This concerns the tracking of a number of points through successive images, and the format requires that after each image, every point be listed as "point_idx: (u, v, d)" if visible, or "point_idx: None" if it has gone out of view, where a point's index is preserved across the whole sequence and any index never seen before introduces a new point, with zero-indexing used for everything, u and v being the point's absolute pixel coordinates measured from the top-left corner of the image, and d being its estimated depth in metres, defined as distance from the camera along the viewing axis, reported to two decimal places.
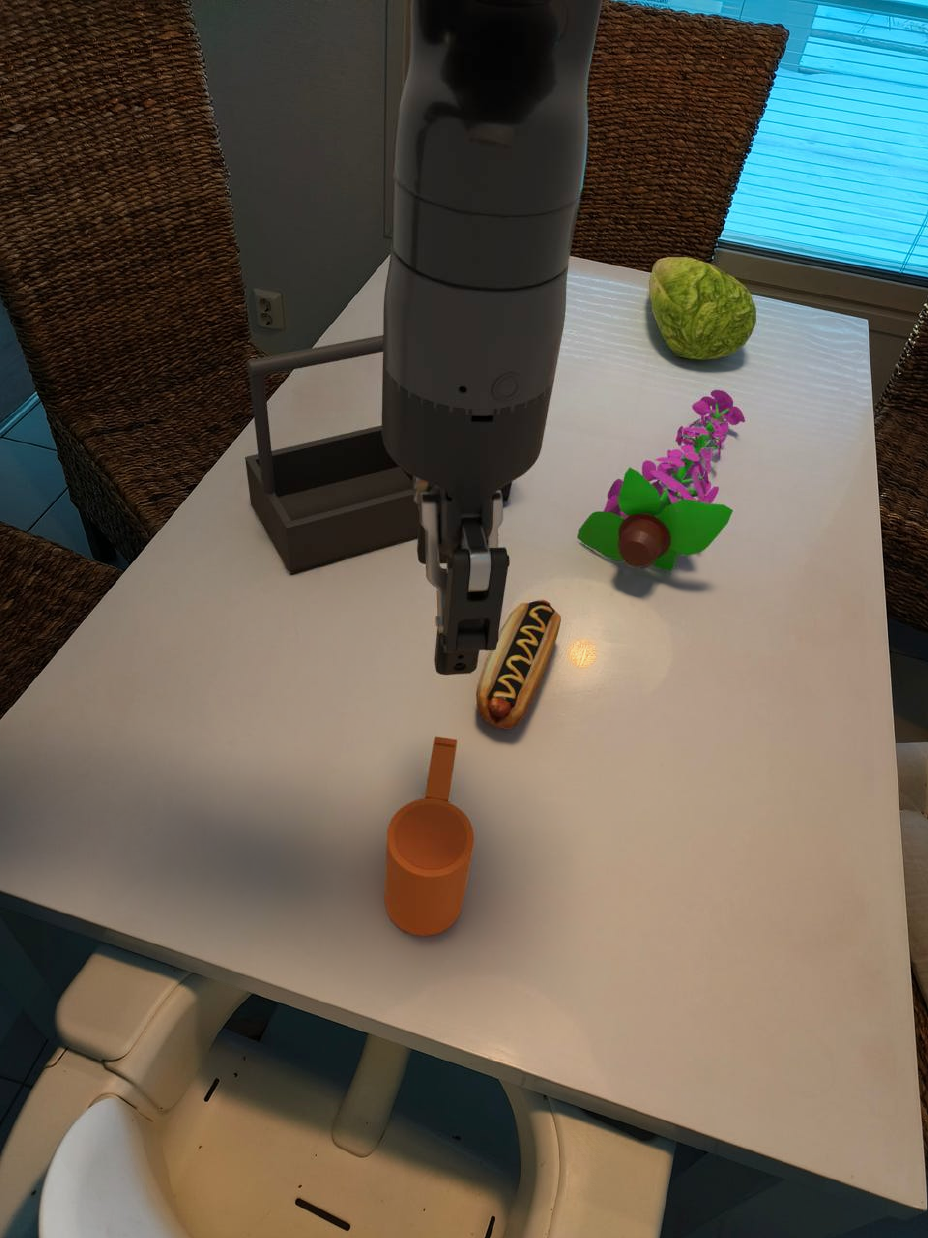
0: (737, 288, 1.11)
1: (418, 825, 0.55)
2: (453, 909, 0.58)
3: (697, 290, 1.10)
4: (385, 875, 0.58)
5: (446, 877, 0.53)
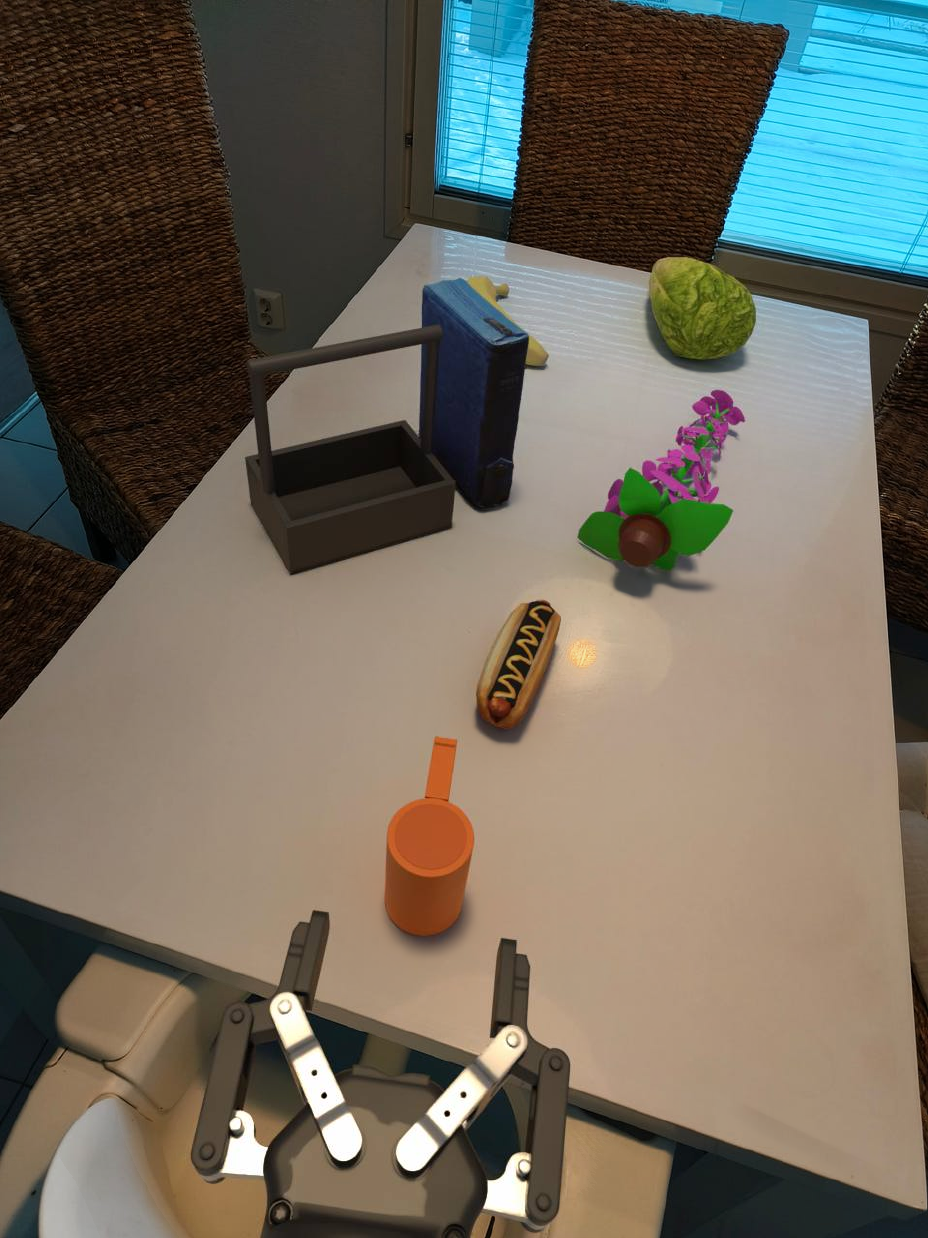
0: (737, 288, 1.11)
1: (418, 825, 0.55)
2: (453, 909, 0.58)
3: (697, 290, 1.10)
4: (385, 875, 0.58)
5: (446, 877, 0.53)
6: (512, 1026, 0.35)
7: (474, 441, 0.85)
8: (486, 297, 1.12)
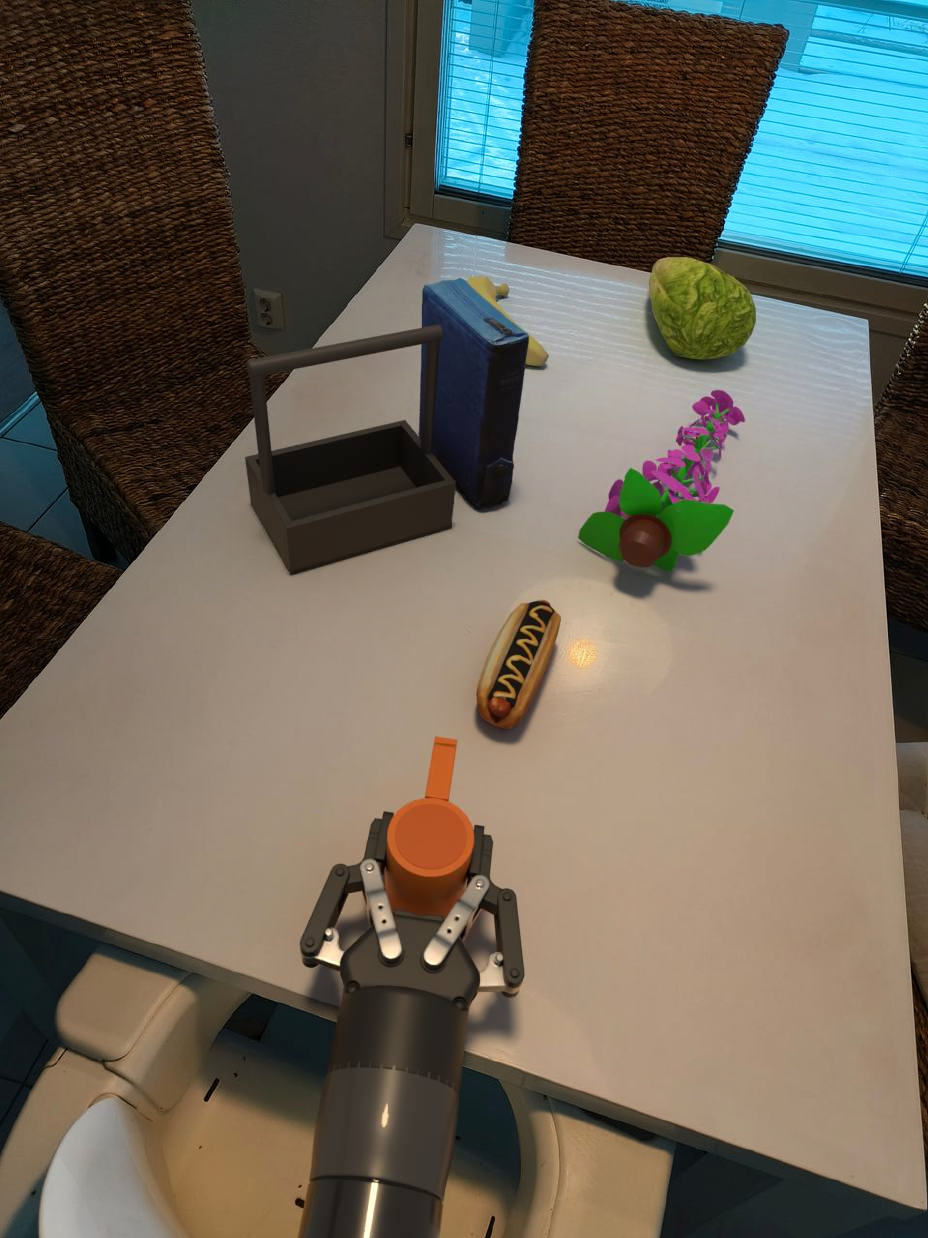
0: (737, 288, 1.11)
1: (418, 825, 0.55)
2: None
3: (697, 290, 1.10)
4: (385, 875, 0.58)
5: (446, 877, 0.53)
6: (480, 875, 0.55)
7: (474, 441, 0.85)
8: (486, 297, 1.12)
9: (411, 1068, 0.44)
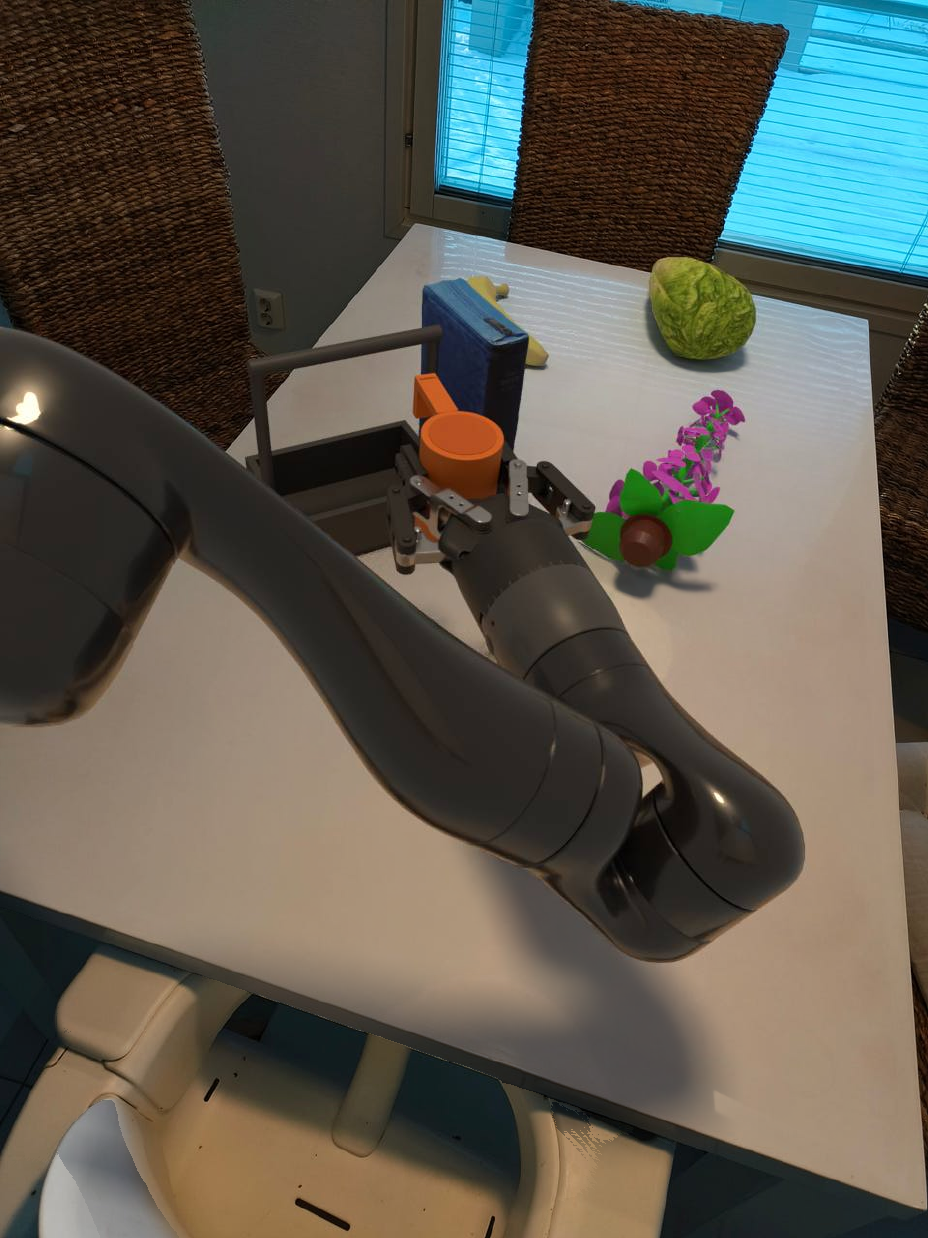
0: (737, 288, 1.11)
1: (446, 431, 0.57)
2: None
3: (697, 290, 1.10)
4: None
5: (494, 457, 0.56)
6: (514, 459, 0.58)
7: None
8: (486, 297, 1.12)
9: (564, 561, 0.48)
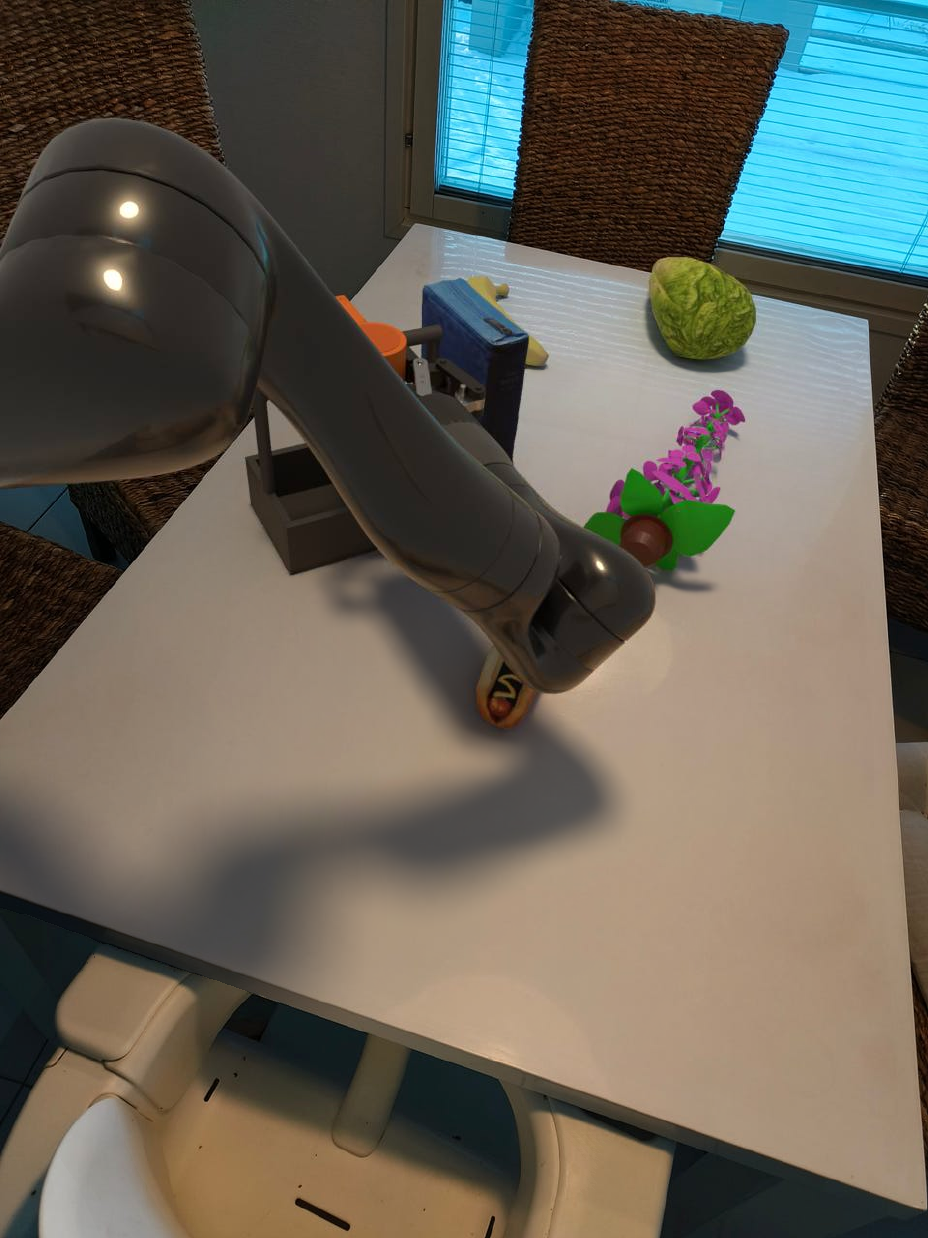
0: (737, 288, 1.11)
1: None
2: None
3: (697, 290, 1.10)
4: None
5: (400, 354, 0.69)
6: (416, 358, 0.71)
7: None
8: (486, 297, 1.12)
9: (462, 419, 0.61)
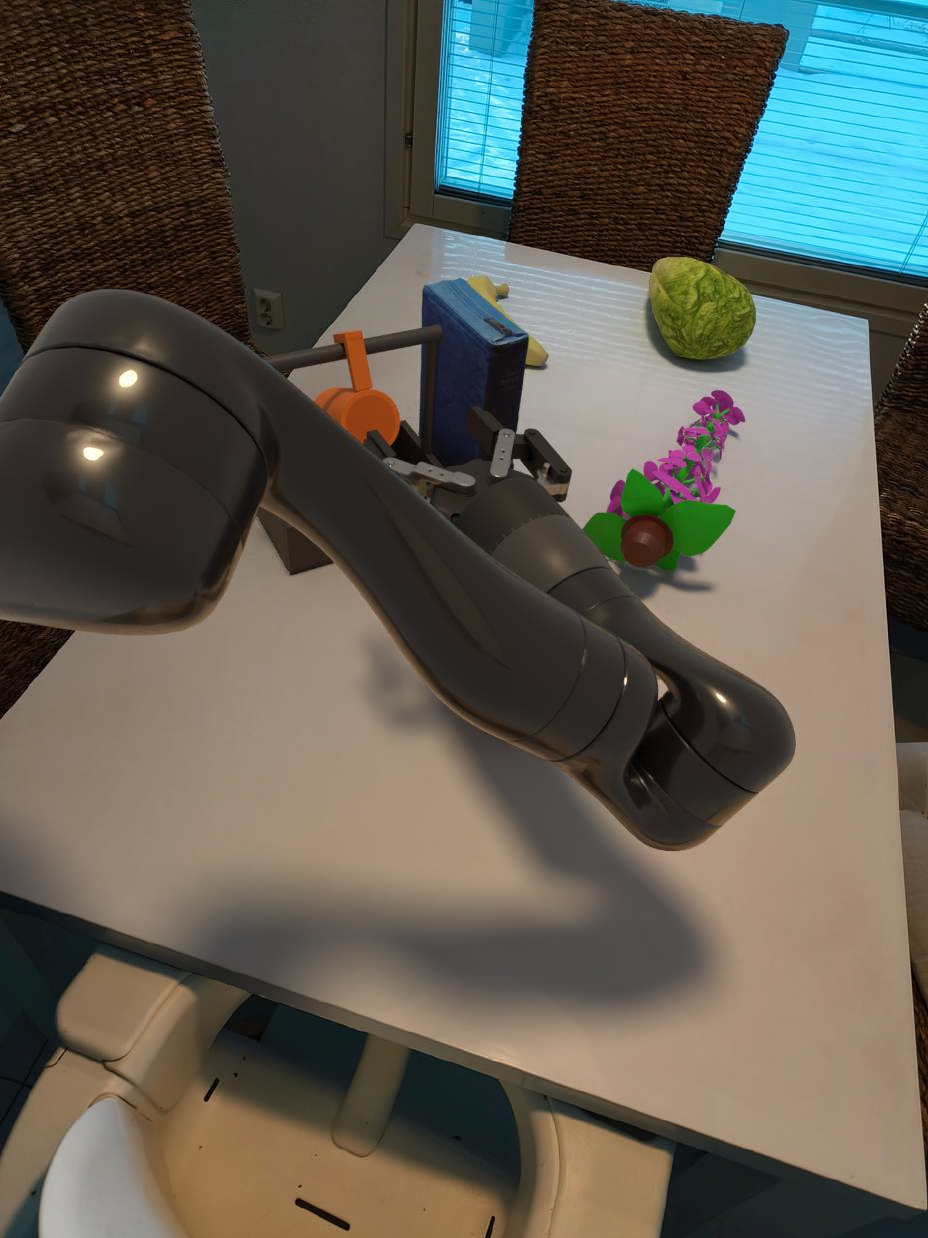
0: (737, 288, 1.11)
1: (360, 416, 0.75)
2: None
3: (697, 290, 1.10)
4: None
5: None
6: (502, 429, 0.63)
7: (474, 441, 0.85)
8: (486, 297, 1.12)
9: (550, 512, 0.53)
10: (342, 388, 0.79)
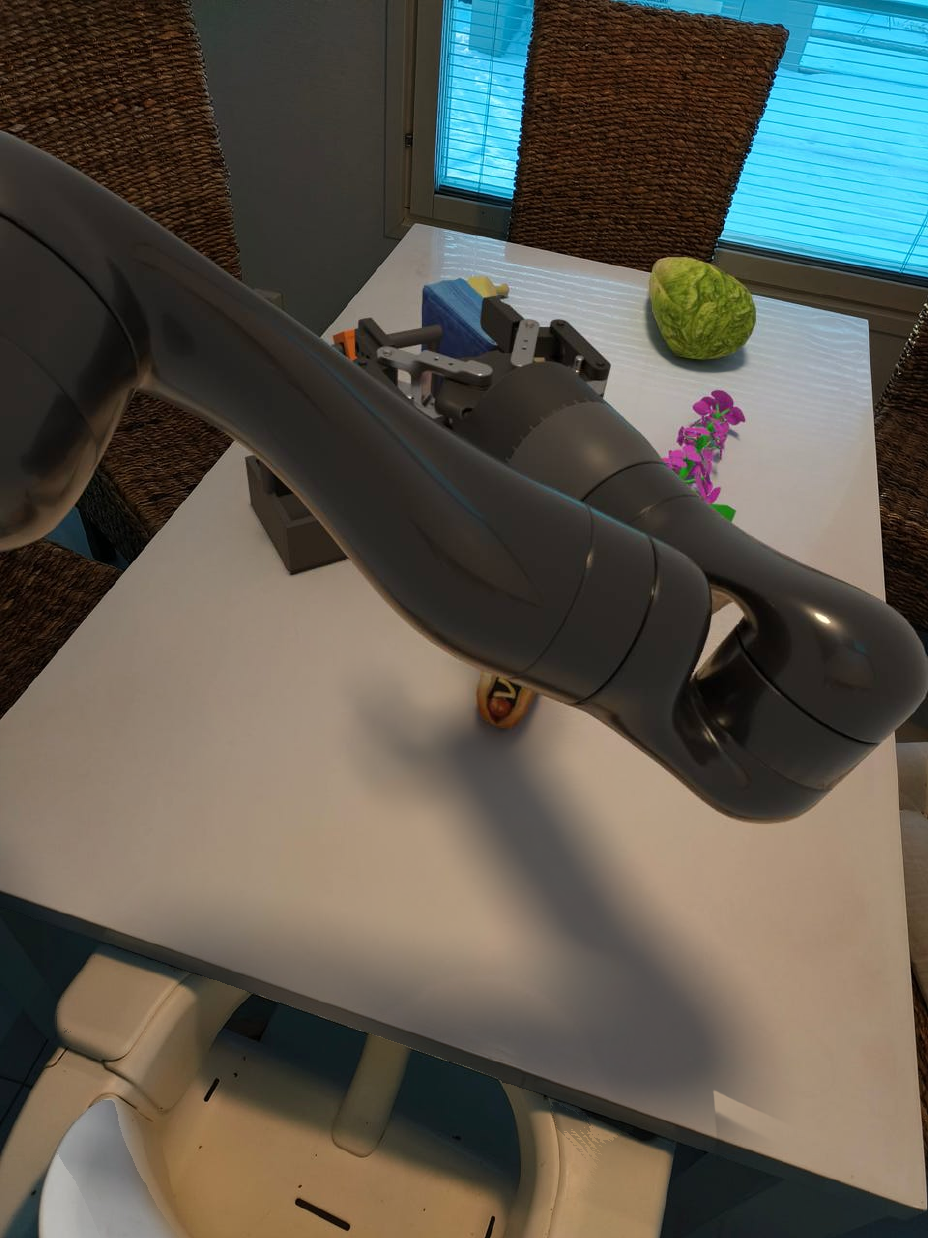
0: (737, 288, 1.11)
1: None
2: None
3: (697, 290, 1.10)
4: None
5: None
6: (524, 319, 0.52)
7: None
8: None
9: (589, 398, 0.42)
10: None
